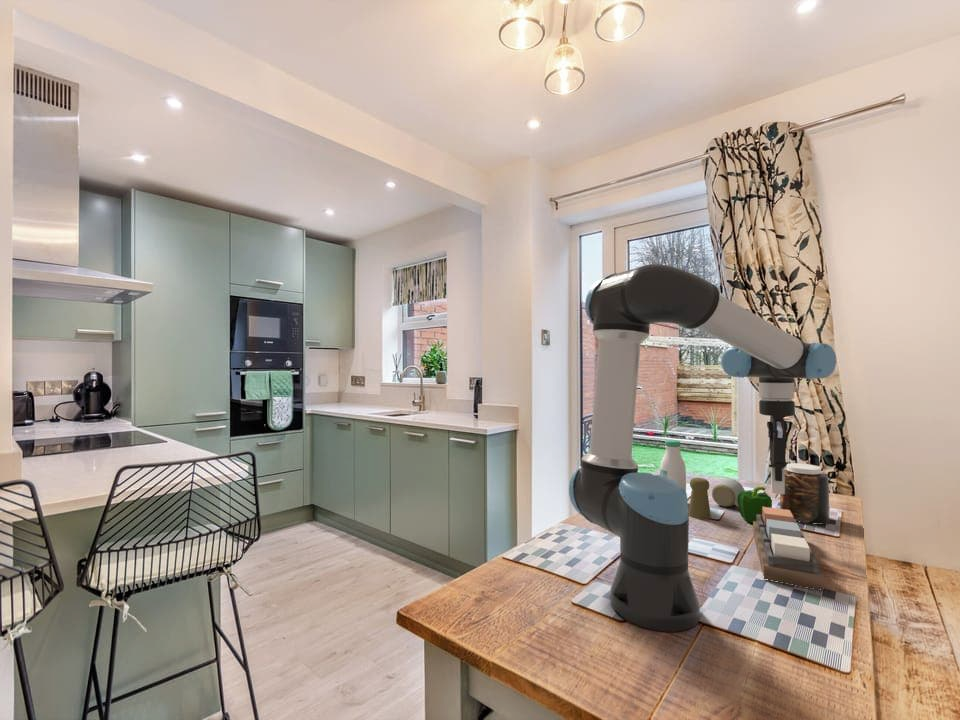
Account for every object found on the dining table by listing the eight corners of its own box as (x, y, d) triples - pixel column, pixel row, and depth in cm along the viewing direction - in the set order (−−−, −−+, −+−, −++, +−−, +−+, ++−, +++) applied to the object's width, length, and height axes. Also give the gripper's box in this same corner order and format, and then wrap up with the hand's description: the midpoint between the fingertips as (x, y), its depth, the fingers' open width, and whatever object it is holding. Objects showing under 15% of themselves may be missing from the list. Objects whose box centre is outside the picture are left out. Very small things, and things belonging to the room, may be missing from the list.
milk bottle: (687, 501, 147) (687, 440, 147) (684, 508, 140) (683, 443, 141) (662, 497, 151) (662, 438, 151) (658, 504, 144) (657, 441, 145)
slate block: (801, 544, 100) (800, 531, 100) (769, 540, 103) (769, 526, 103) (796, 535, 106) (796, 522, 106) (766, 531, 108) (766, 518, 108)
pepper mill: (706, 512, 136) (706, 476, 136) (714, 519, 130) (714, 481, 130) (685, 512, 136) (685, 475, 136) (692, 519, 130) (692, 480, 130)
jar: (832, 528, 123) (831, 472, 123) (780, 520, 129) (780, 467, 129) (826, 515, 133) (826, 464, 133) (779, 509, 139) (778, 460, 140)
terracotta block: (793, 529, 110) (793, 517, 110) (764, 525, 112) (764, 513, 112) (790, 521, 115) (789, 510, 115) (762, 518, 118) (762, 506, 118)
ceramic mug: (710, 504, 144) (710, 480, 144) (719, 499, 149) (720, 476, 149) (747, 513, 136) (747, 488, 136) (755, 507, 141) (756, 483, 141)
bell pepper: (733, 521, 128) (733, 486, 129) (742, 514, 134) (742, 480, 134) (768, 528, 123) (767, 492, 123) (775, 521, 128) (775, 486, 128)
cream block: (809, 563, 91) (809, 548, 91) (774, 557, 94) (774, 543, 94) (804, 552, 96) (804, 538, 96) (771, 547, 99) (771, 533, 99)
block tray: (823, 591, 89) (823, 565, 89) (764, 580, 93) (763, 555, 93) (798, 538, 115) (798, 519, 115) (753, 532, 120) (752, 513, 120)
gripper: (798, 402, 107) (800, 502, 106) (790, 397, 118) (791, 488, 118) (761, 401, 110) (762, 498, 110) (757, 397, 122) (758, 484, 121)
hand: (777, 492), depth 114 cm, fingers closed
